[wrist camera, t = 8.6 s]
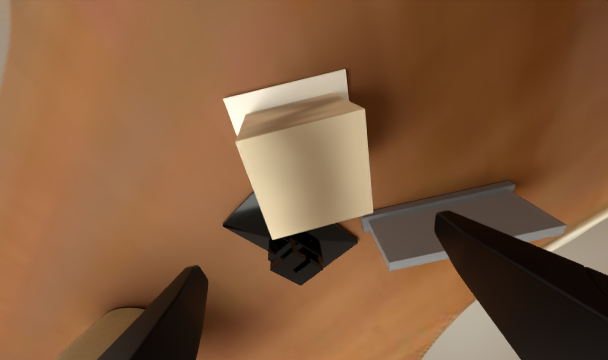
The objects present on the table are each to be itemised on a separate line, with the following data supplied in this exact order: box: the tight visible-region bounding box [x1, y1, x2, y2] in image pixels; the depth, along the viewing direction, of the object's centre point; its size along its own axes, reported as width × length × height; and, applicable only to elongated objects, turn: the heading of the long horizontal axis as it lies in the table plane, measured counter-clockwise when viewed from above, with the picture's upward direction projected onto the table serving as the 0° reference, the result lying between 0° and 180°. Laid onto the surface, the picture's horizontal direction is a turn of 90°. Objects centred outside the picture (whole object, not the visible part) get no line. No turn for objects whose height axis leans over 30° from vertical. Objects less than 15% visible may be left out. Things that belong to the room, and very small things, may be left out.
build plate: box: [223, 191, 358, 286], centre depth 22 cm, size 12×7×5 cm, turn 47°
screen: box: [361, 180, 567, 271], centre depth 21 cm, size 15×2×6 cm, turn 102°
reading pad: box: [223, 69, 349, 136], centre depth 19 cm, size 9×9×1 cm
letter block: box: [235, 93, 373, 240], centre depth 16 cm, size 6×7×6 cm
